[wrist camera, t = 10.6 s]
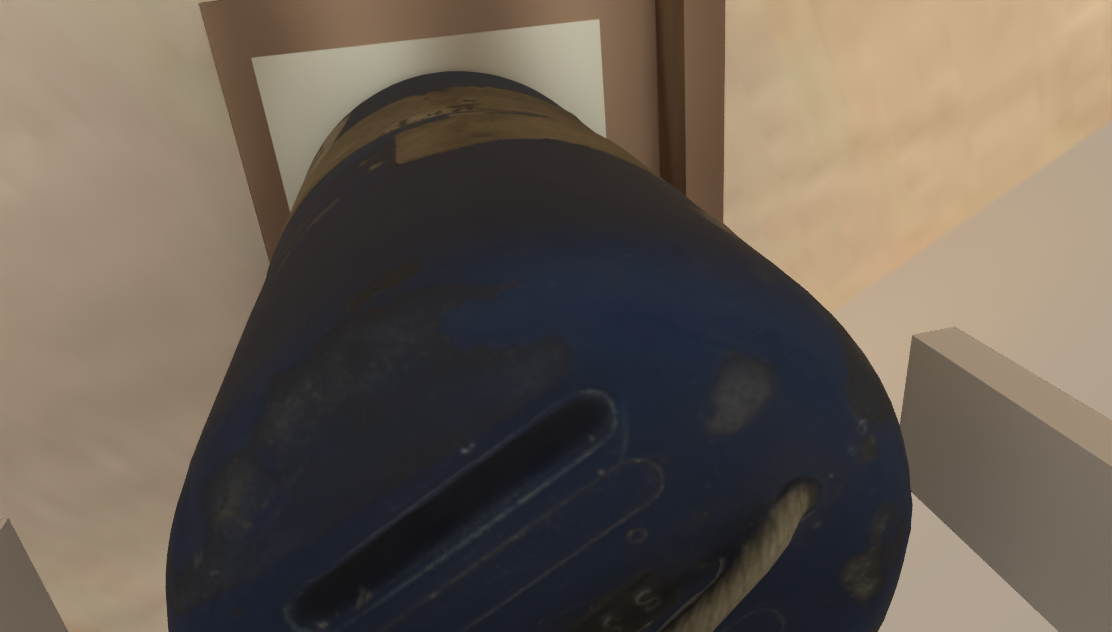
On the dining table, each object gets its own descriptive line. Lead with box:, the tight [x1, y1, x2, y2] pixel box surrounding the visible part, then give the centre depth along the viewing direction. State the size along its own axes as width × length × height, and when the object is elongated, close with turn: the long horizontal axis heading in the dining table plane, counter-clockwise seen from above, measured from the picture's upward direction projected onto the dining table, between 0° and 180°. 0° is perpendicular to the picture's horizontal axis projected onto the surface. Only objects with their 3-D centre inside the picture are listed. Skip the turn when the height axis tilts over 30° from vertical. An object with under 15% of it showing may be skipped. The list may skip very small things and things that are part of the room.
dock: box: [199, 0, 725, 262], centre depth 24 cm, size 14×14×5 cm
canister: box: [166, 71, 912, 632], centre depth 16 cm, size 10×10×18 cm
